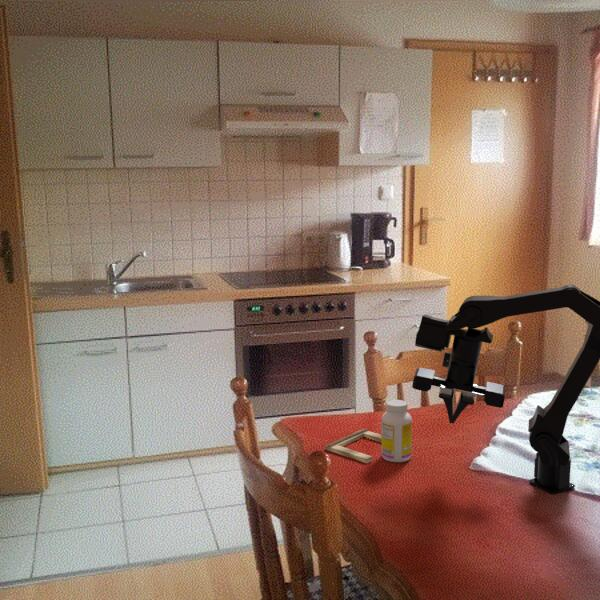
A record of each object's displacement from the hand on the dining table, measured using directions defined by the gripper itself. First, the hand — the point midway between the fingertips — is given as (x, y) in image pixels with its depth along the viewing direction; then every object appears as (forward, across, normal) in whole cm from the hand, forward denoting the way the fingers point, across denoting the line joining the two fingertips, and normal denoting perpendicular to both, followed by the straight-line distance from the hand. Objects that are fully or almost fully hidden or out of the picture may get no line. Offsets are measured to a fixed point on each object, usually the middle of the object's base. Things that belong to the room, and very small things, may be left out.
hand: (451, 422), depth 153 cm
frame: (+14, +17, -5) cm, 23 cm away
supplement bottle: (+13, +10, -1) cm, 16 cm away
